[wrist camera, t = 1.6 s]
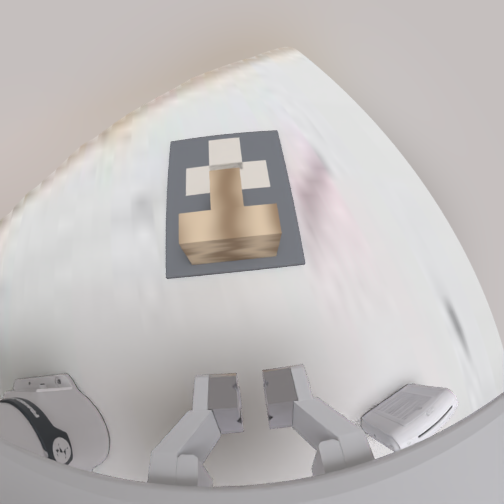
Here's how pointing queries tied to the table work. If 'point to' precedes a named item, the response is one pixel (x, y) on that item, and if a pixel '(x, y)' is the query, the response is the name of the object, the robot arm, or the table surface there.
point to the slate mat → (253, 190)
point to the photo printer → (410, 415)
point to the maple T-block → (229, 225)
